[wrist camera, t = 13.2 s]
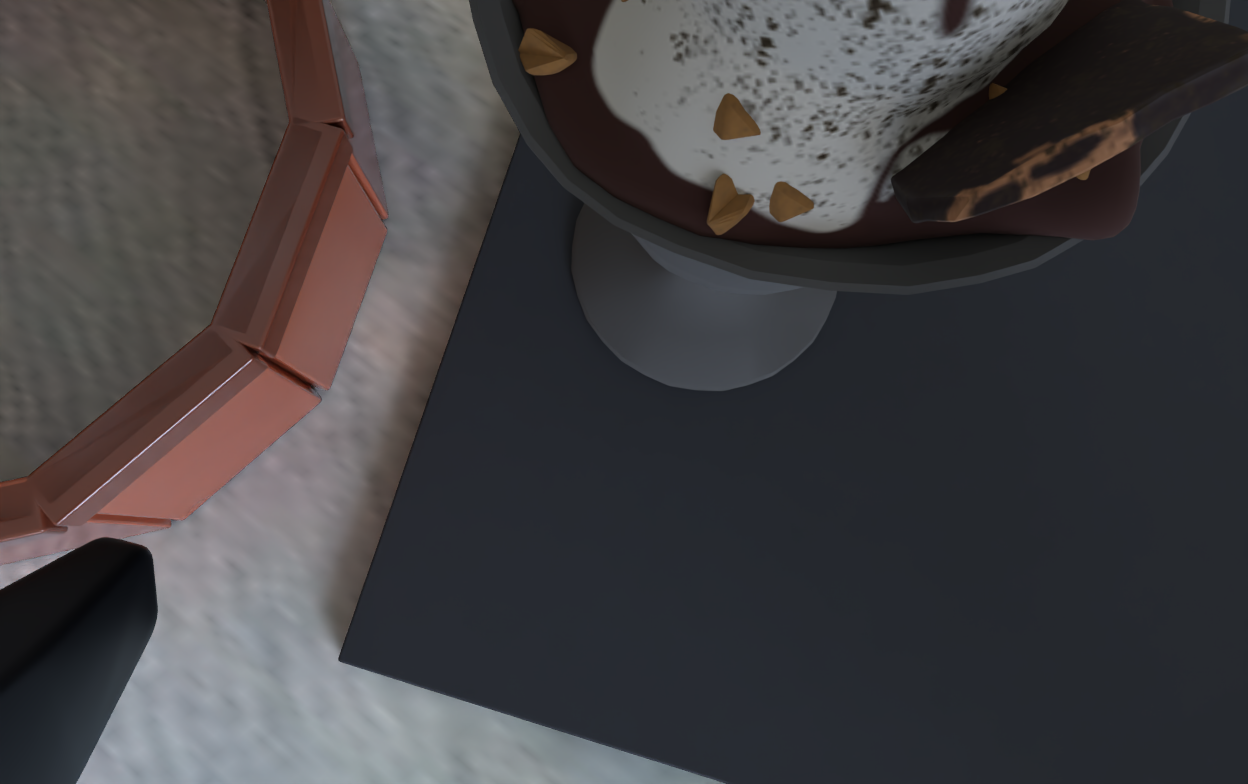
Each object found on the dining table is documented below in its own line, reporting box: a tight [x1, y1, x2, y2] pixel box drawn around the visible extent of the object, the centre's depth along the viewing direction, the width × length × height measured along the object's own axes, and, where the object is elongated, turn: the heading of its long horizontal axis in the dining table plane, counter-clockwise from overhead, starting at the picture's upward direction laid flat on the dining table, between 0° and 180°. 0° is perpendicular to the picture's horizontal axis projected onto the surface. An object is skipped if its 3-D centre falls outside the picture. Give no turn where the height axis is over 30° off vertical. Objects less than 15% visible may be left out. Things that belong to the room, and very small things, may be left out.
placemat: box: [338, 0, 1248, 784], centre depth 19 cm, size 20×16×1 cm
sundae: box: [469, 0, 1248, 391], centre depth 11 cm, size 7×7×15 cm
